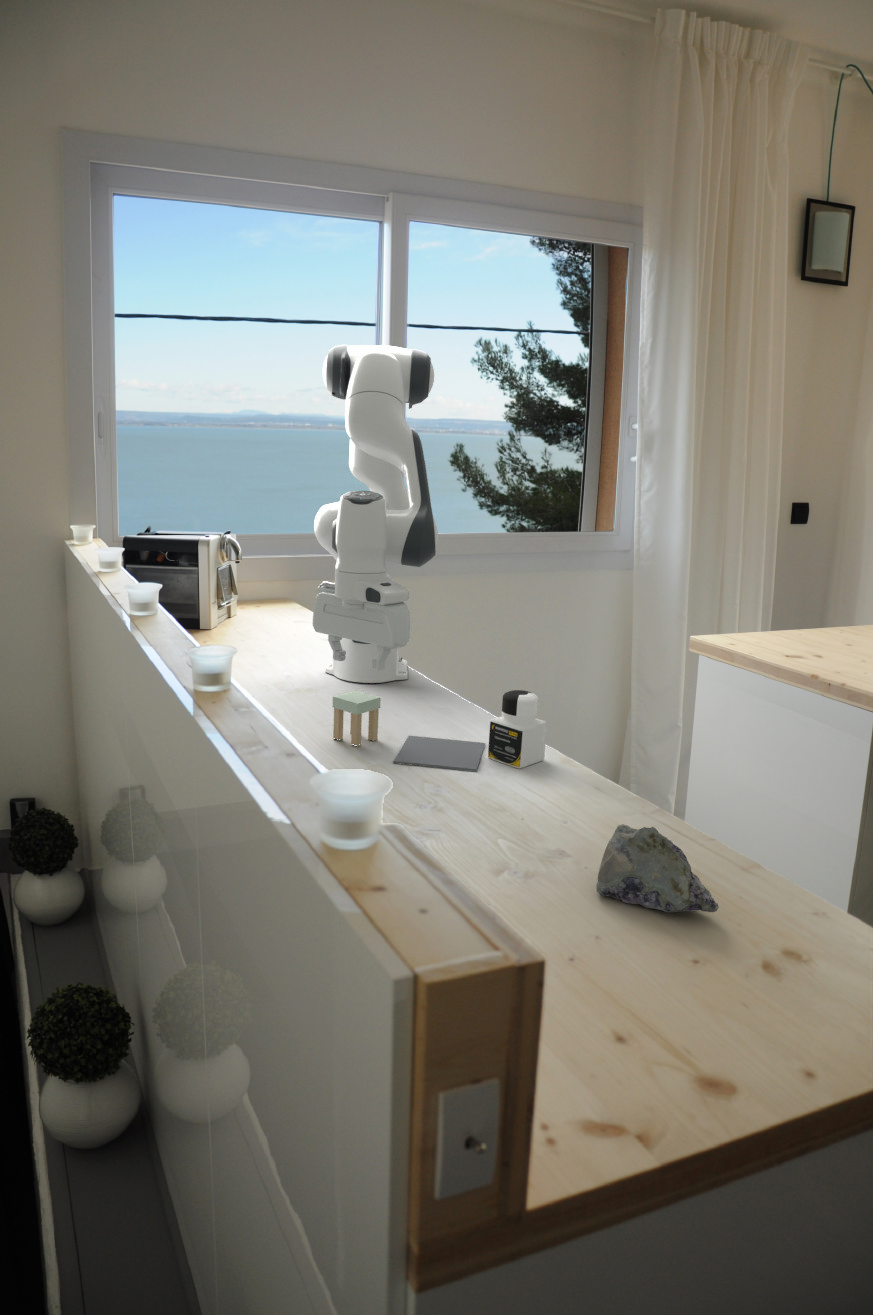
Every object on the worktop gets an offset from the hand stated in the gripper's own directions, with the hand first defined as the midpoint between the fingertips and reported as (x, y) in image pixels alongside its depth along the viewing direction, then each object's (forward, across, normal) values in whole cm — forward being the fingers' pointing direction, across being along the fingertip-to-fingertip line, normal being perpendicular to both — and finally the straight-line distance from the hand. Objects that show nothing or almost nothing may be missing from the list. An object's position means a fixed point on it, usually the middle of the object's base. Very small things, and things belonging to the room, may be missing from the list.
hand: (358, 665), depth 166 cm
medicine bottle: (+15, +26, +13) cm, 32 cm away
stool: (+14, -1, 0) cm, 14 cm away
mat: (+14, +15, +6) cm, 21 cm away
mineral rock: (+16, +67, -19) cm, 71 cm away
